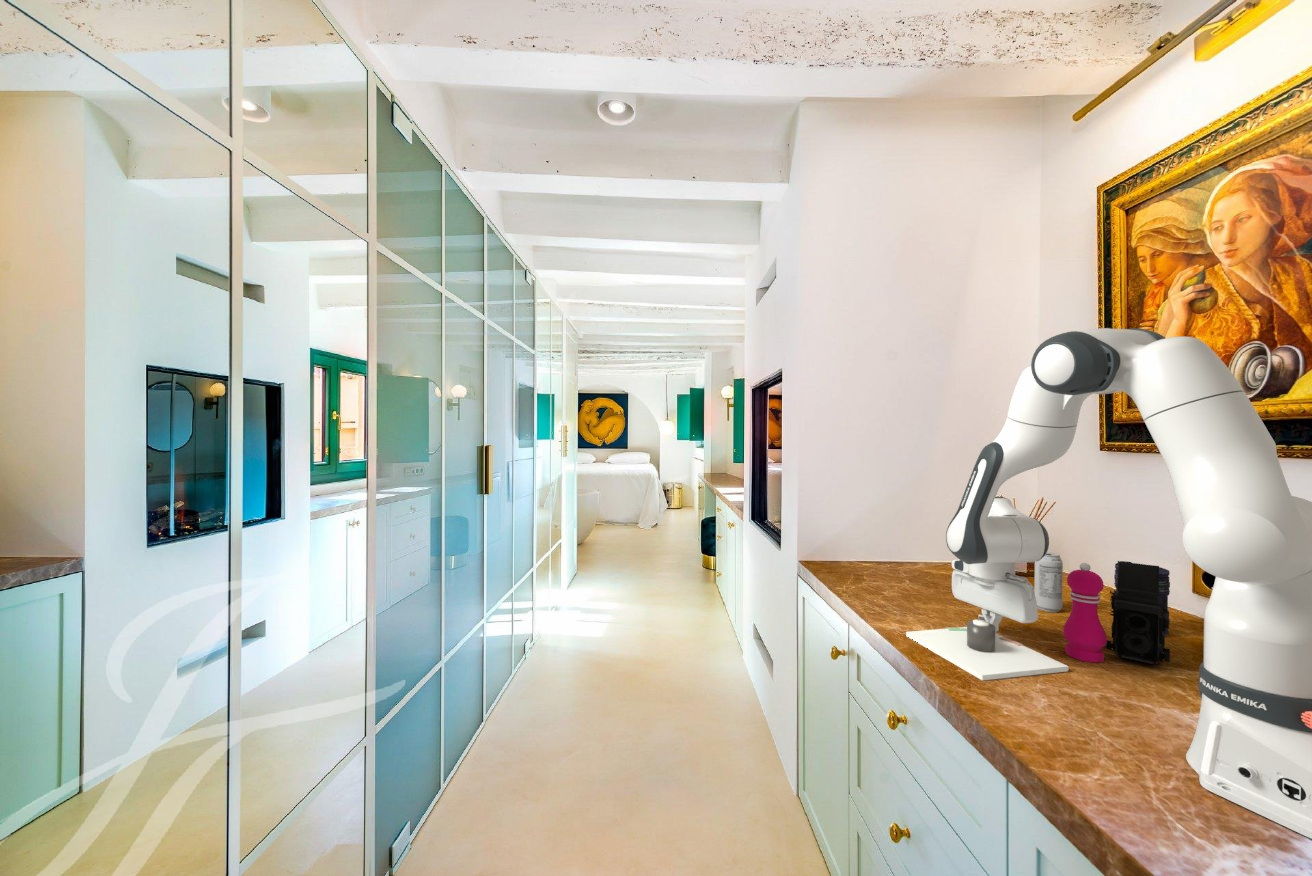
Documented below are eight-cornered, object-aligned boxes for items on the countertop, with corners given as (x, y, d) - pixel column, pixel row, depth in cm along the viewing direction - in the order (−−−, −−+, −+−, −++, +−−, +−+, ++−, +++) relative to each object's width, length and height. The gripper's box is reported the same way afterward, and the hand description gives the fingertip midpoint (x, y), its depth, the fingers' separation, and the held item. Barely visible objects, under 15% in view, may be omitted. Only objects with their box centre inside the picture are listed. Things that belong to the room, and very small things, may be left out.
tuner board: (1069, 671, 103) (1069, 665, 103) (982, 680, 99) (982, 674, 99) (979, 629, 125) (979, 624, 125) (905, 635, 121) (905, 630, 121)
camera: (1104, 662, 107) (1105, 565, 107) (1107, 642, 117) (1108, 554, 117) (1172, 677, 100) (1173, 574, 100) (1169, 655, 110) (1170, 561, 110)
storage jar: (1182, 637, 120) (1182, 573, 120) (1139, 636, 120) (1139, 573, 120) (1142, 621, 130) (1143, 562, 130) (1102, 621, 130) (1103, 562, 130)
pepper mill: (1115, 665, 105) (1116, 568, 105) (1075, 662, 107) (1075, 566, 107) (1093, 650, 112) (1093, 559, 112) (1055, 648, 114) (1056, 558, 114)
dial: (994, 653, 108) (994, 628, 108) (965, 647, 111) (966, 623, 111) (997, 634, 119) (997, 610, 119) (970, 629, 122) (970, 606, 122)
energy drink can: (1060, 607, 140) (1061, 552, 140) (1063, 614, 135) (1064, 557, 135) (1033, 603, 143) (1033, 550, 143) (1035, 610, 138) (1035, 554, 138)
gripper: (1045, 578, 106) (1047, 646, 106) (969, 558, 126) (970, 615, 126) (1019, 580, 105) (1020, 648, 105) (946, 559, 125) (947, 617, 125)
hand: (992, 630), depth 115 cm, fingers closed, pressing on dial
